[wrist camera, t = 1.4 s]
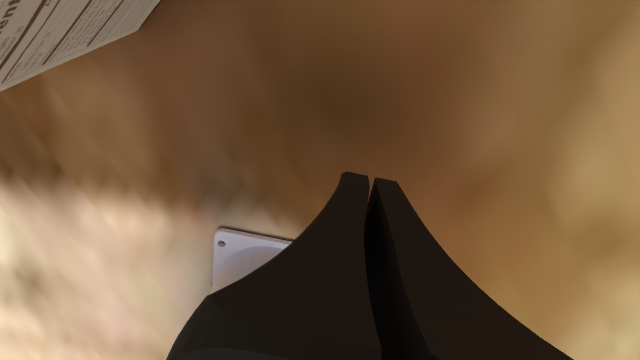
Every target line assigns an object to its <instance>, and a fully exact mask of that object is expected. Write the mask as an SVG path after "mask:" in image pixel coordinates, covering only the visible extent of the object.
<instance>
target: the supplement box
mask: <svg viewBox="0 0 640 360" xmlns="http://www.w3.org/2000/svg"><path fill="white" fill-rule="evenodd" d="M159 1H160V0H0V91H3V90H5V89H7V88H9V87H11V86H14V85H16V84H18V83H20V82H22V81H24V80H27V79H29V78H31V77H33V76H35V75H37V74H39V73H41V72H44V71H46V70H49V69H51V68H54V67H56V66H58V65H60V64H62V63H65V62H67V61H69V60H72V59H74V58H77V57H79V56H81V55H83V54H85V53H88V52H90V51H93V50H94V49H97V48H99V47H101V46H104V45H106V44H108V43H110V42H113V41H115V40H117V39H120V38H122V37H125V36H127V35H129V34H131V33H133V32H135V31H137V30H138V29H139V28H140V26H141V25H142V24H143V22H144V21H145V20H146V18H147V17H148V16H149V14H150V13H151V12H152V10H153V9H154V8H155V6H156V5H157V4H158V3H159Z"/></svg>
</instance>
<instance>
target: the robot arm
mask: <svg viewBox="0 0 640 360" xmlns="http://www.w3.org/2000/svg"><path fill="white" fill-rule="evenodd" d="M369 190H370V186H369V180H368V176H366V175H361V174H356V173H351V172H345V173H343V174H341V179H340V182H339V185H338V187H337V189H336V190H335V192H334V194H333V195H332V197H331V198H330V200H329V201H328V203H327V204H326V206H325V207H324V209H323V210H322V211H321V212H320V213H319V215H318V216H317V217H316V218H315V219H314V221H313V222H312V223H311V224H310V225H309V226H308V227H307V228H306V229H305V231H304V232H303V233H302V234H301V235H299V236H298V237H297V238H296V239H295V240H294V241H293V242H291V241H286V240H281V239H276V238H271V237H266V236H261V235H256V234H251V233H245V232H240V231H235V230H230V229H225V228H220V229H218V230H217V231H216V233H215V235H214V254H213V277H212V289H211V291H210V294H209V295H208V296H206V298H205V299H204V300H203V301H202V303H201V304H200V305H199V306H198V308H197V309H196V310H195V312H194V313H193V314H192V316H191V317H190V319H189V320H188V321H187V323H186V324H185V326H184V327H183V329H182V331H181V332H180V334H179V335H178V337H177V339H176V340H175V342H174V344H173V346H172V348H171V350H170V353H169V355H168V357H167V359H166V360H573V359H572V358H570V357H569V356H567V355H566V354H564V353H563V352H561V351H560V350H558V349H557V348H555V347H554V346H552V345H551V344H549V343H548V342H546V341H545V340H543V339H542V338H541V337H539V336H538V335H536V334H535V333H534V332H532V331H531V330H530V329H528V328H527V327H526V326H524V325H523V324H522V323H520V322H519V321H518V320H517V319H515V318H514V317H513V316H511V315H510V314H509V313H508V312H507V311H505V310H504V309H503V308H502V307H500V306H499V305H498V304H497V303H496V302H495V301H494V300H492V299H491V298H490V297H489V296H488V295H487V294H486V293H485V292H483V291H482V290H481V289H480V288H479V287H478V286H477V285H476V284H475V283H474V282H473V281H472V280H471V279H470V278H469V277H468V276H467V275H466V274H465V273H464V272H463V271H462V270H461V269H460V268H459V267H458V266H457V265H456V264H455V263H454V262H453V261H452V259H451V258H450V257H449V256H448V255H447V254H446V252H445V251H444V250H443V249H442V248H441V246H440V245H439V244H438V242H437V241H436V240H435V239H434V237H433V236H432V235H431V233H430V232H429V231H428V229H427V228H426V227H425V225H424V224H423V222H422V221H421V219H420V218H419V216H418V215H417V213H416V212H415V210H414V209H413V207H412V206H411V204H410V202H409V201H408V199H407V197H406V196H405V194H404V193H403V191H402V189H401V188H400V186H399V185H398V183H397V182H396V181H391V180H386V179H381V178H376V177H375V180H374V183H373V187H372V190H371V194H370V197H369ZM368 197H369V201H368ZM220 241H224V242H225V243H222V242H220Z"/></svg>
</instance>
